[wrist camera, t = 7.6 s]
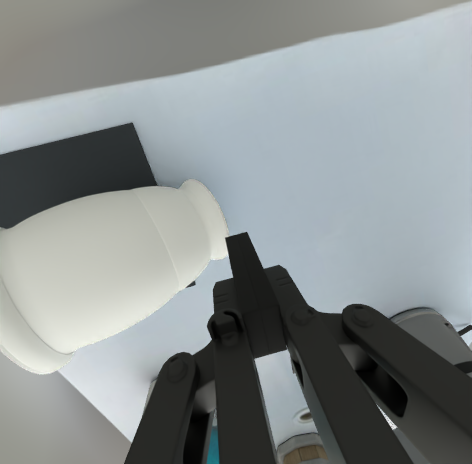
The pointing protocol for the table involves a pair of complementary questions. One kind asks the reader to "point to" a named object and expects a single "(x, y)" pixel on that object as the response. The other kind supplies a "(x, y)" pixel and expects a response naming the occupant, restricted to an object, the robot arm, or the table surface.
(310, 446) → the tankard
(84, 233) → the jar
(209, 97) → the table surface
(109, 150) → the mat
